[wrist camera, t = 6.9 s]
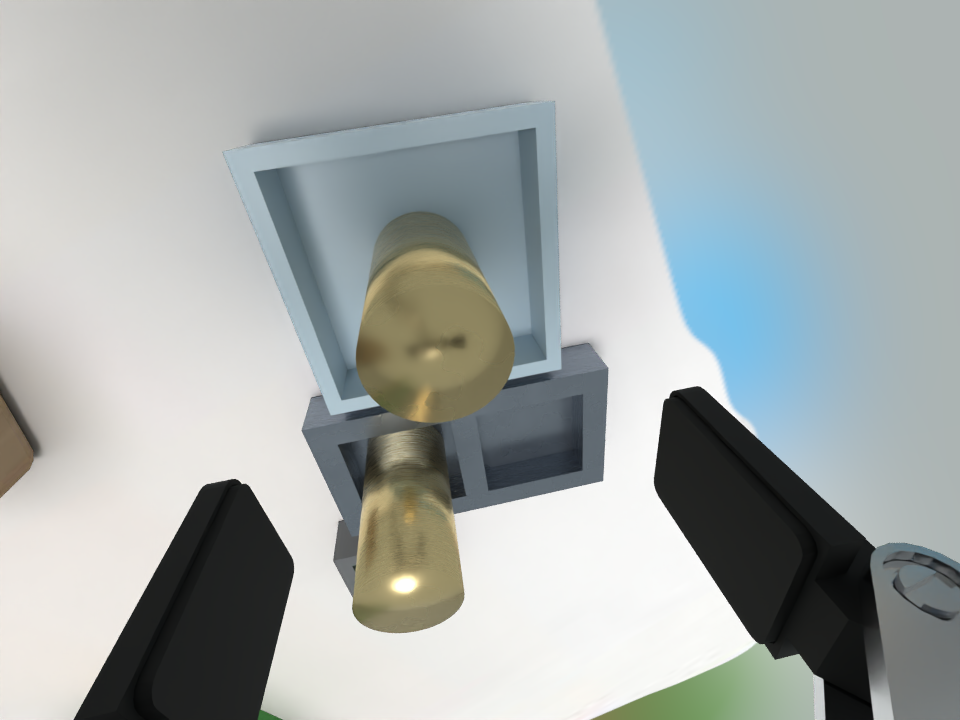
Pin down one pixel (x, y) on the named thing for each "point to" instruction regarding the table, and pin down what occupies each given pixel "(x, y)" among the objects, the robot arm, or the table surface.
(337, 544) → the grey button housing
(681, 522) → the robot arm
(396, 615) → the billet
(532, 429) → the metal compartment tray
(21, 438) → the wooden block
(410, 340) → the billet
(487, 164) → the tray
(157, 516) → the table surface
